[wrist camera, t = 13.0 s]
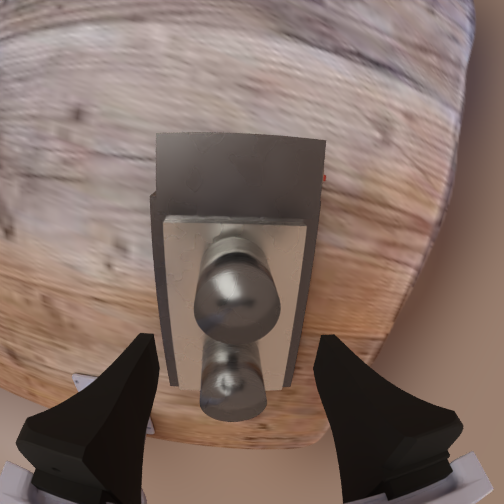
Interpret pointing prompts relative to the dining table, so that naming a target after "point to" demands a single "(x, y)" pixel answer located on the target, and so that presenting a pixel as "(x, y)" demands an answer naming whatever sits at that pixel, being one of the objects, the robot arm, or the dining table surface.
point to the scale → (234, 234)
